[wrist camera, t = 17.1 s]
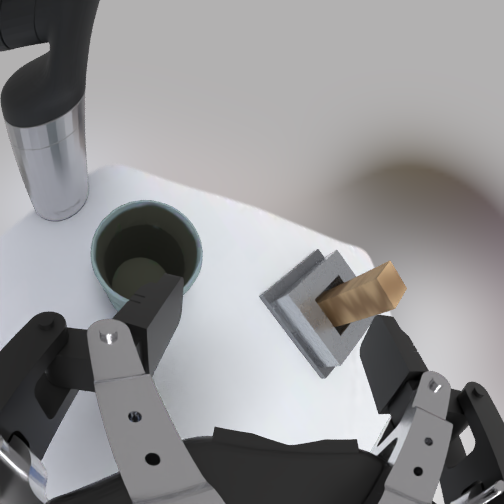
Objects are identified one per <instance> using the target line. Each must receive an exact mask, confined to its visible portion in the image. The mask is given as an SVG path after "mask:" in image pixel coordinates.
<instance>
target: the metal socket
mask: <svg viewBox="0 0 504 504" xmlns="http://www.w3.org/2000/svg"><path fill="white" fill-rule="evenodd" d="M355 277H356V276H355V275H354V273H353V272H352V270H351V269H350V267H349V266H348V265H347V263H346V262H345V260H344V259H343V257H342V256H341V255H340V253H339V252H338V250H336V251H334V252H332V253H331V254H329V255H327V256H326V257H324V256H323V255H322V254H321V252H320V251H319V249H317V250H316V251H314V252H313V253H312V254H311V255H309V256H308V257H307V258H306V259H305V260H303V261H302V262H301V263H300V264H299V265H297V266H296V267H295V268H294V269H293V270H291V271H290V272H289V273H288V274H287V275H285V276H284V277H283V278H282V279H281V280H279V281H278V282H277V283H276V284H274V285H273V286H272V287H271V288H269V289H268V290H267V291H266V292H264V293H263V294H262V295H261V296H259V297H260V298H261V299H262V301H263V302H264V303H265V305H266V306H267V307H268V309H269V310H270V311H271V313H272V314H273V315H274V317H275V318H276V319H277V321H278V322H279V323H280V325H281V326H282V327H283V329H284V330H285V331H286V333H287V334H288V335H289V337H290V338H291V339H292V341H293V342H294V343H295V345H296V346H297V347H298V348H299V350H300V351H301V352H302V354H303V355H304V356H305V358H306V359H307V360H308V362H309V363H310V364H311V365H312V367H313V368H314V369H315V371H316V372H317V373H318V374H319V376H320V377H321V378H326V377H327V376H328V375H329V374H330V372H331V371H332V370H333V369H334V368H335V366H341V364H342V363H343V362H344V360H345V359H346V358H347V356H348V355H349V354H350V352H351V351H352V350H353V348H354V347H355V346H356V344H357V343H358V341H359V340H360V339H361V337H362V336H363V334H364V333H365V331H366V330H367V328H368V327H369V326H370V324H371V323H372V321H373V319H374V317H375V316H376V315H374V316H371V317H368V318H365V319H361V320H358V321H355V322H351V323H348V324H344V325H341V326H337V327H334V326H333V325H332V323H331V322H330V321H329V319H328V318H327V316H326V315H325V314H324V312H323V311H322V309H321V308H320V307H319V305H318V304H317V302H316V301H315V300H316V299H317V298H318V297H319V296H320V295H321V294H322V293H323V292H325V291H327V290H329V289H331V288H334V287H336V286H338V285H340V284H342V283H345V282H347V281H349V280H351V279H353V278H355Z"/></svg>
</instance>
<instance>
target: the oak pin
mask: <svg viewBox="0 0 504 504" xmlns="http://www.w3.org/2000/svg"><path fill="white" fill-rule="evenodd" d="M406 289H407V288H406V286H405V284H404V283H403V281H402V279H401V278H400V276H399V275H398V273H397V271H396V269H395V268H394V266H393V264H392V263H391V261H388V262H386V263H384V264H382V265H380V266H378V267H376V268H374V269H372V270H370V271H368V272H366V273H364V274H362V275H359V276H357V277H355V278H353V279H351V280H349V281H347V282H345V283H342V284H340V285H338V286H336V287H334V288H331V289H329V290H327V291H325V292H323V293H322V294H321V295H320V296H319V297H318V298H317V299H316V300H315V301H316V302H317V304H318V305H319V307H320V308H321V309H322V311H323V312H324V314H325V315H326V316H327V318H328V319H329V321H330V322H331V323H332V325H333V326H334V327H337V326H341V325H344V324H348V323H351V322H355V321H358V320H361V319H365V318H368V317H371V316H374V315H377V314H381V313H384V312H387V311H390V310H393V309H395V308H396V306H397V305H398V303H399V301H400V299H401V298H402V296H403V294H404V293H405V291H406Z"/></svg>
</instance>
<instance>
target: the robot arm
mask: <svg viewBox="0 0 504 504" xmlns="http://www.w3.org/2000/svg"><path fill="white" fill-rule="evenodd" d="M99 1H100V0H0V51H6V50H11V49H15V48H19V47H24V46H29V45H35V44H41V43H47V42H49V44H50V51H49V52H47V53H46V54H44V55H42V56H40V57H38V58H36V59H34V60H33V61H31V62H29V63H27V64H26V65H24V66H23V67H21V68H20V69H19V70H17V71H16V72H15V73H14V74H13V75H12V76H11V77H10V78H9V79H8V81H7V82H6V84H5V86H4V87H3V90H2V93H1V107H2V112H3V116H4V120H5V124H6V128H7V132H8V135H9V139H10V142H11V145H12V149H13V152H14V155H15V158H16V162H17V165H18V167H19V170H20V173H21V176H22V179H23V181H24V184H25V187H26V189H27V192H28V195H29V197H30V199H31V202H32V204H33V206H34V209H35V210H36V212H37V213H38V214H39V215H40V216H41V217H42V218H44V219H46V220H51V221H59V220H64V219H66V218H69V217H71V216H72V215H74V214H75V213H76V212H78V211H79V210H80V209H81V207H82V206H83V205H84V203H85V201H86V199H87V197H88V193H89V184H88V174H87V160H86V145H85V85H86V69H87V61H88V53H89V45H90V38H91V33H92V27H93V23H94V19H95V15H96V11H97V8H98V4H99ZM183 287H184V278H183V277H180V276H175V275H171V274H167V273H165V274H164V275H163V276H162V277H161V278H160V280H159V281H158V282H157V283H152V282H149V283H147V284H145V285H143V286H141V287H140V288H139V289H138V290H137V291H136V292H135V293H134V295H133V296H132V297H131V298H130V299H129V301H127V302H126V304H125V305H124V306H123V307H122V308H121V309H120V311H119V312H118V313H117V314H116V315H115V316H114V318H113V319H104V320H100V321H97V322H95V323H93V324H92V325H91V326H90V327H89V329H88V330H83V329H75V328H68V327H67V325H66V321H65V319H64V317H63V316H62V315H60V314H58V313H56V312H43V313H40V314H37V315H36V316H34V317H33V318H32V319H31V320H30V321H29V322H28V323H27V324H26V325H25V326H24V327H23V328H22V329H21V330H20V331H19V332H18V333H17V334H16V335H15V336H14V337H13V338H12V339H11V340H10V341H9V342H8V343H7V345H6V346H5V347H4V348H3V349H2V350H1V351H0V504H436V503H435V502H433V501H432V500H433V497H434V494H435V491H436V489H437V486H438V483H439V480H440V484H441V488H442V493H443V498H444V503H445V504H504V423H503V421H502V419H501V417H500V415H499V413H498V411H497V409H496V407H495V405H494V403H493V401H492V400H491V398H490V396H489V394H488V392H487V391H486V390H485V389H484V387H482V386H481V385H480V384H478V383H476V382H469V383H467V384H466V386H465V387H464V388H463V390H462V391H459V390H454V389H451V386H450V384H449V383H448V381H447V379H446V378H445V377H444V376H442V375H441V374H439V373H437V372H433V371H429V370H428V369H427V367H426V365H425V364H424V362H423V360H422V358H421V356H420V355H419V353H418V352H417V349H416V348H415V346H413V343H412V341H411V339H410V338H409V336H408V335H407V334H406V333H405V332H403V331H402V330H401V329H400V327H399V325H398V324H397V322H396V320H395V319H394V317H391V316H384V315H376V316H375V317H374V319H373V321H372V323H371V325H370V327H369V329H368V331H367V333H366V335H365V338H364V340H363V342H362V344H361V347H360V358H361V361H362V364H363V367H364V370H365V373H366V376H367V379H368V382H369V385H370V388H371V391H372V394H373V397H374V401H375V404H376V407H377V410H378V414H390V415H391V417H390V418H389V419H388V421H387V422H386V424H385V426H384V428H383V430H382V432H381V434H380V435H379V437H378V439H377V441H376V443H375V445H374V446H373V448H372V450H371V452H367V451H364V450H361V449H359V448H358V443H357V439H352V440H321V441H316V442H310V443H304V444H298V445H286V444H283V443H279V442H276V441H273V440H270V439H267V438H264V437H261V436H258V435H255V434H252V433H246V432H240V431H234V430H229V429H223V428H218V427H215V428H214V433H213V436H202V437H193V438H188V439H184V440H181V438H180V436H179V434H178V432H177V430H176V428H175V426H174V424H173V422H172V420H171V418H170V416H169V414H168V412H167V410H166V408H165V406H164V404H163V402H162V400H161V397H160V395H159V393H158V391H157V388H156V386H155V384H154V382H153V379H152V376H153V374H154V371H155V369H156V367H157V365H158V363H159V361H160V359H161V357H162V355H163V353H164V351H165V350H166V348H167V346H168V344H169V342H170V340H171V338H172V336H173V334H174V332H175V330H176V328H177V326H178V324H179V321H180V317H181V312H182V300H183ZM79 390H84V391H91V392H96V396H97V400H98V404H99V408H100V412H101V416H102V420H103V423H104V427H105V430H106V434H107V437H108V440H109V443H110V446H111V449H112V452H113V455H114V458H115V461H116V463H117V466H118V469H119V472H117V473H115V474H113V475H111V476H108V477H106V478H104V479H102V480H99V481H97V482H95V483H92V484H90V485H87V486H85V487H82V488H80V489H77V490H75V491H72V492H69V493H67V494H64V495H61V496H58V497H55V498H53V499H51V500H48V499H47V496H46V491H45V489H46V482H47V472H46V469H45V467H44V465H43V463H42V462H41V460H42V458H43V456H44V454H45V452H46V450H47V448H48V446H49V444H50V442H51V440H52V438H53V436H54V434H55V432H56V431H57V429H58V427H59V425H60V423H61V421H62V419H63V418H64V416H65V414H66V412H67V410H68V409H69V407H70V405H71V403H72V402H73V400H74V398H75V396H76V395H77V393H78V391H79ZM468 425H469V426H470V428H471V431H472V433H473V435H474V438H475V447H474V450H473V451H472V452H471V453H470V454H469V455H468V456H466V453H465V450H464V447H463V445H462V442H461V439H460V437H459V435H460V434H461V433H462V432H463V430H465V428H466V427H467V426H468Z"/></svg>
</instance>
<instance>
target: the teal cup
mask: <svg viewBox="0 0 504 504" xmlns="http://www.w3.org/2000/svg"><path fill="white" fill-rule="evenodd" d="M202 252H203V251H202V245H201V241H200V238H199V235H198V233H197V231H196V229H195V227H194V226H193V224H192V223H191V222H190V221H189V220H188V218H187V217H186V216H185V215H183V214H182V213H181V212H180V211H178V210H177V209H175V208H173V207H172V206H169V205H167V204H165V203H161V202H157V201H152V200H140V201H133V202H129V203H127V204H124V205H122V206H120V207H118V208H116V209H115V210H113V211H112V212H111V213H110V214H109V215H108V216H107V217H106V218H104V219H103V220H102V222H101V223H100V225H99V226H98V228H97V230H96V232H95V234H94V237H93V241H92V245H91V262H92V266H93V270H94V272H95V275H96V277H97V279H98V280H99V282H100V284H101V285H102V287H103V288H104V290H105V292H106V293H107V295H108V297H109V299H110V301H111V303H112V304H113V306H114V307H115V309H116V310H117V311H118V312H119V311H120V309H121V308H122V307H123V306H124V305H125V304H126V302H127V301H129V299H130V298H131V297H132V296H133V295H134V293H135V292H136V291H137V290H138V289H139V288H140V287H141V286H143V285H145V284H147V283H149V282H152V283H157V282H158V281H159V280H160V278H161V277H162V276H163V275H164V274H165V273H167V274H171V275H175V276H180V277H183V278H184V287H183V295H184V294H185V293H186V292H187V291H188V290H189V288H190V287H191V286H192V284H193V283H194V282H195V280H196V278H197V277H198V275H199V272H200V270H201V265H202Z"/></svg>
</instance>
